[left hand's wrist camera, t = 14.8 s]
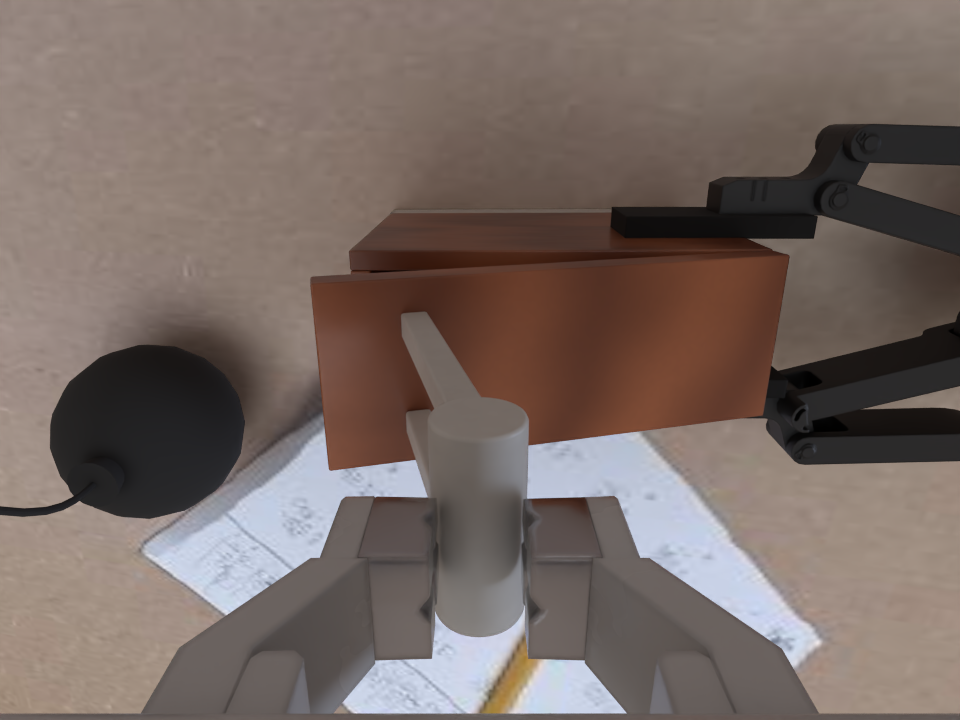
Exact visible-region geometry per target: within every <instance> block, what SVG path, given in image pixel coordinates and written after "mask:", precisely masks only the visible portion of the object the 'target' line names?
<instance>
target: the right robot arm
mask: <svg viewBox="0 0 960 720" xmlns="http://www.w3.org/2000/svg"><path fill="white" fill-rule="evenodd" d="M815 149H816V153H815V155H814V157H813V159H812V161H811V162H810V164H809V165H808V167H807V168H806V169H805V170H804V171H802V172H801V173H799V174H797V175H794V176H790V177H722V178H720V179H717V180H715V181H712V182H709V190H708V198H707V206H706V207H612V211H611V225H610V227H612V228H613V229H614V230H615V231H617V232H618V233H619V234H620V235H622V236H623V237H624V238H746V239H814V234H815V229H816V223H817V218H818V216H814V215H822V216H826V217H829V218H833V219H836V220H839V221H843V222H846V223H850V224H853V225H856V226H860V227H863V228H867V229H870V230H873V231H877V232H880V233H884V234H887V235H891V236H894V237H897V238H901V239H904V240H908V241H911V242H914V243H918V244H921V245H925V246H928V247H931V248H935V249H938V250H942V251H945V252H948V253H951V254H955V255H958V256H960V216H959V215H956V214H953V213H949V212H946V211H943V210H939V209H936V208H932V207H929V206H926V205H922V204H919V203H916V202H912V201H909V200H906V199H902V198H899V197H896V196H892V195H889V194H886V193H882V192H879V191H876V190H872V189H869V188H866V187H862V186H859V185H857V184H858V182H859V180H860V178H861V176H862V175H863V173H864V171H865V169H866V167H867V166H868V164H869V163H898V164H932V165H960V127H957V126H923V125H889V124H835V125H829V126H827V127H826V128H824V129H822V131H821V132H820V133H819V134H818V136H817V139H816V141H815ZM958 386H960V312H959V313H958V315H957V319H956V322H953V323H949V324H945V325H941V326H937V327H933V328H929V329H926V330H925V331H923V335H922V336H919V337H915V338H911V339H907V340H903V341H899V342H895V343H891V344H887V345H883V346H878V347H874V348H870V349H866V350H862V351H858V352H854V353H850V354H846V355H842V356H837V357H833V358H829V359H825V360H821V361H817V362H813V363H809V364H805V365H801V366H797V367H792V368H788V369H784V370H780V371H777V370H776V369H775V368H773V367H772V366H771V370H770V376H769V382H768V388H767V394H766V400H765V406H764V412H763V415H762V416H755V417H747V418H767V419H768V420H767V423H766V429H767V431H768V433H769V434H770V435H771V436H772V437H773V438H774V439H775V440H776V442H777V443H778V444H779V445H780V446H781V447H782V448H783V449H784V450H785V451H786V452H787V453H788V455H789V456H790V457H791V458H792V459H793V460H794V461H795V462H797V463H798V464H804V465H812V464H855V463H898V462H941V461H960V411H959V410H955V409H947V408H904V409H864V408H868V407H873V406H877V405H881V404H885V403H890V402H894V401H898V400H902V399H907V398H911V397H915V396H919V395H924V394H928V393H932V392H936V391H941V390H945V389H949V388H953V387H958ZM860 409H863V410H860Z"/></svg>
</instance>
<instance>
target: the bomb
mask: <svg viewBox="0 0 960 720" xmlns="http://www.w3.org/2000/svg"><path fill="white" fill-rule="evenodd" d="M244 425H245V420H244V416H243V412H242V408H241V404H240V400H239V397H238V395H237V393H236V391H235V390H234V388H233V387H232V385H231V384H230V382H229V381H228V379H227V378H226V376H225V375H224V374H223V373H222V372H221V371H219V370H218V369H217V368H216V367H214V366H213V365H212V364H211V363H209V362H208V361H207V360H206V359H204V358H202V357H199V356H197V355H195V354H192V353H190V352H187V351H185V350H182V349H179V348H177V347H171V346H157V345H138V346H134V347H130V348H127V349H123V350H120V351H116V352H113V353H110V354H107V355H105V356H102V357H100V358H99V359H97V360H96V361H95V362H94V363H92V364H91V365H90V366H89V367H87V368H86V369H85V370H84V371H82V372H81V373H80V374H78V375H77V376H76V377H75V378H74V379H72V380H71V381H70V382H69V384H68V385H67V387H66V388H65V390H64V392H63V394H62V396H61V398H60V400H59V402H58V404H57V406H56V408H55V410H54V412H53V414H52V419H51V425H50V449H51V452H52V455H53V458H54V461H55V463H56V466H57V469H58V471H59V474H60V476H61V478H62V479H63V480H64V481H65V482H66V484H67V485H68V487H69V490H70V492H71V493H72V494H73V495H74V496H73V497H72V498H70V499H68V500H66V501H64V502H62V503H59V504H55V505H52V506H48V507H39V508H13V507H1V506H0V515H8V516H20V517H25V516H38V515H48V514H51V513H55V512H58V511H62V510H64V509H66V508H68V507H70V506H72V505H74V504H75V503H77V502H78V501H81V502H82V503H84V504H87V505H90V506H93V507H94V508H97V509H100V510H102V511H105V512H108V513H111V514H114V515H116V516H121V517H132V518H146V519H150V518H155V517H160V516H164V515H168V514H172V513H176V512H180V511H184V510H186V509H188V508H190V507H192V506H194V505H195V504H197V503H198V502H200V501H201V500H203V499H204V498H205V497H207V496H208V495H210V494H211V493H213V492H214V491H215V490H216V489H217V488H218V487H219V486H220V485H221V484H222V483H223V482H224V481H225V479H226V477H227V476H228V474H229V473H230V471H231V469H232V468H233V466H234V465H235V463H236V461H237V459H238V457H239V455H240V454H241V447H242V440H243V432H244Z"/></svg>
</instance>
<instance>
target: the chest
mask: <svg viewBox="0 0 960 720" xmlns="http://www.w3.org/2000/svg"><path fill="white" fill-rule="evenodd" d="M611 211H612V209H429V210H393V211H392V212H391V214H390V215H389V216H388V217H387V218H386V219H384V220H383V221H382V222H381V223H380V224H379V225H378V226H377V227H376V228H374V229H373V230H372V231H371V232H370V233H369V234H368V235H367V236H365V237H364V238H363V239H362V240H361V241H360V242H359V243H358V244H357V245H355V246H354V247H353V248H352V249H351V250H350V251H349V257H350V269H351V270H352V271H351V274H367V273H384V272H402V271H419V270H436V269H454V268H471V267H488V266H506V265H523V264H540V263H558V262H575V261H593V260H610V259H627V258H645V257H662V256H679V255H697V254H714V253H731V252H749V251H766V250H772V249H770V248H767V247H765V246H763V245H760V244H758V243H756V242H753V241H751V240H749V239H746V238H624V237H623V236H622V235H620V234H619V233H618V232H617V231H615V230H614V229H613V228H612V227H610V225H611Z"/></svg>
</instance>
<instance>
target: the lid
mask: <svg viewBox="0 0 960 720" xmlns="http://www.w3.org/2000/svg"><path fill="white" fill-rule="evenodd" d="M788 262H789V255H787V254H783V253H779V252H775V251H772V250H766V251H749V252H731V253H714V254H697V255H679V256H662V257H645V258H627V259H610V260H593V261H575V262H558V263H540V264H523V265H506V266H488V267H471V268H454V269H436V270H419V271H402V272H384V273H367V274H350V275H332V276H315V277H311V279H310V284H311V295H312V305H313V315H314V325H315V335H316V345H317V355H318V365H319V375H320V385H321V395H322V405H323V415H324V425H325V435H326V445H327V455H328V465H329V470H331V471H332V470H339V469H347V468H355V467H363V466H371V465H379V464H386V463H394V462H402V461H410V460H416V462H417V465H418V468H419V471H420V474H421V477H422V480H423V484H424V487H425V490H426V493H427V496H428V498H437V510H438V527H437V537H436V542H437V543H438V544H439V580H438V598H437V604H436V605H435V611H436V614H437V616H438V617H439V619H440V620H441V622H442V623H443V624H444V625H445V626H446V627H448V628H449V629H450V630H452V631H454V632H456V633H459V634H462V635H466V636H471V637H487V636H492V635H496V634H499V633H502V632H504V631H506V630H508V629H509V628H511V627H512V626H513V625H514V624H515V623H516V622H517V621H518V620H519V618H520V616H521V615H522V612H523V610H524V604H523V598H522V584H521V544H522V543H523V542H524V537H523V527H522V507H523V499H527V478H528V445H535V444H543V443H551V442H559V441H567V440H575V439H582V438H590V437H598V436H606V435H614V434H622V433H629V432H637V431H645V430H653V429H661V428H669V427H676V426H684V425H692V424H700V423H708V422H716V421H723V420H731V419H739V418H747V417H755V416H762V415H763V412H764V406H765V400H766V394H767V388H768V382H769V376H770V370H771V364H772V358H773V352H774V346H775V340H776V334H777V328H778V322H779V316H780V310H781V304H782V298H783V292H784V286H785V280H786V274H787V268H788Z"/></svg>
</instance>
